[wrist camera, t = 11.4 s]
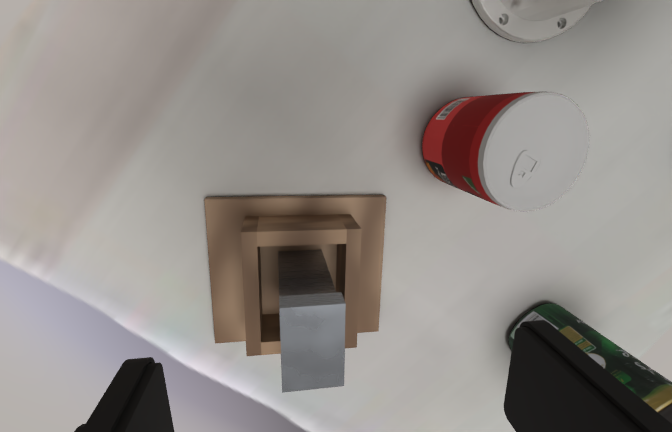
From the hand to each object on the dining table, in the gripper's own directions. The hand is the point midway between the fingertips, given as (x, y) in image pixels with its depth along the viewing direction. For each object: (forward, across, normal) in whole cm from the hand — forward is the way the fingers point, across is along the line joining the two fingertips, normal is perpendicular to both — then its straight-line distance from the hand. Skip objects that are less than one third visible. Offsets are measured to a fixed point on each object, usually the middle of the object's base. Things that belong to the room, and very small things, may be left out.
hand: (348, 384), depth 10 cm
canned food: (+26, -15, -3) cm, 30 cm away
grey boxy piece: (+24, 0, +8) cm, 25 cm away
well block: (+25, +1, +8) cm, 26 cm away
